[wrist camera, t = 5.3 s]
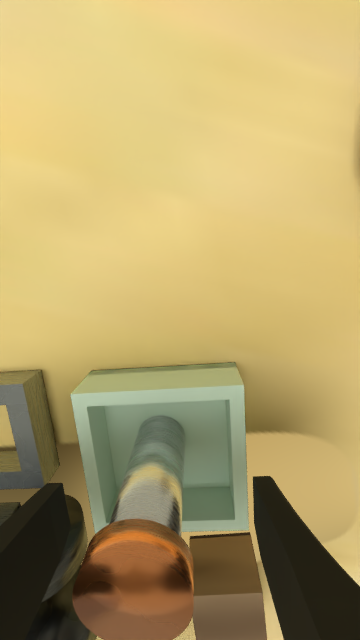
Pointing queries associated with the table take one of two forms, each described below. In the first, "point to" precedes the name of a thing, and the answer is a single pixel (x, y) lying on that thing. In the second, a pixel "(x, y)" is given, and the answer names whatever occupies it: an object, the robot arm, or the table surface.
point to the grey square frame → (27, 432)
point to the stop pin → (142, 547)
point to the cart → (60, 583)
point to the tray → (200, 437)
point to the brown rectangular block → (226, 588)
